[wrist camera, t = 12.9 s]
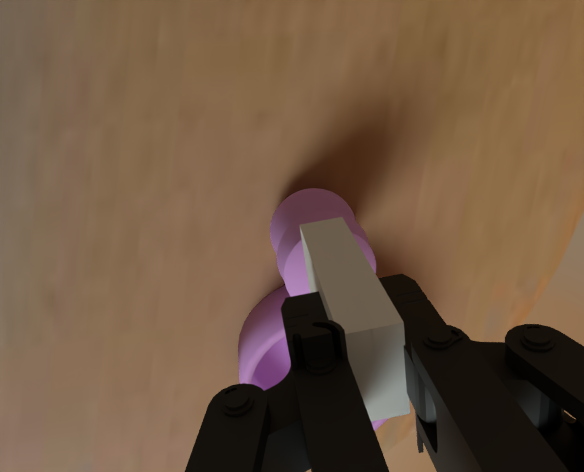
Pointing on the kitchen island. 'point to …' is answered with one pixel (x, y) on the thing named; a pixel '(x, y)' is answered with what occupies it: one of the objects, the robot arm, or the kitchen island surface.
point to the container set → (289, 285)
